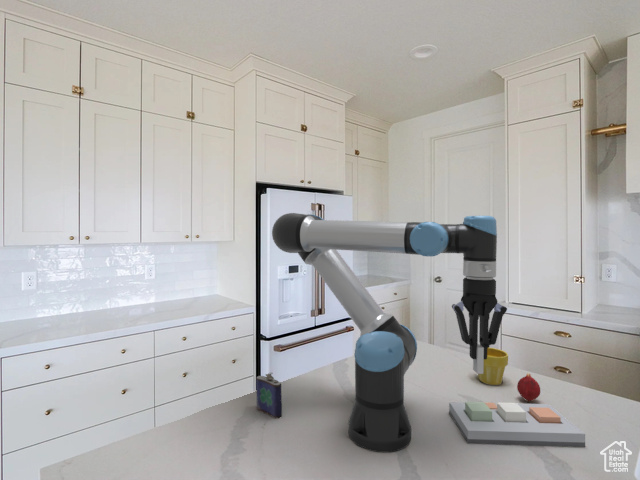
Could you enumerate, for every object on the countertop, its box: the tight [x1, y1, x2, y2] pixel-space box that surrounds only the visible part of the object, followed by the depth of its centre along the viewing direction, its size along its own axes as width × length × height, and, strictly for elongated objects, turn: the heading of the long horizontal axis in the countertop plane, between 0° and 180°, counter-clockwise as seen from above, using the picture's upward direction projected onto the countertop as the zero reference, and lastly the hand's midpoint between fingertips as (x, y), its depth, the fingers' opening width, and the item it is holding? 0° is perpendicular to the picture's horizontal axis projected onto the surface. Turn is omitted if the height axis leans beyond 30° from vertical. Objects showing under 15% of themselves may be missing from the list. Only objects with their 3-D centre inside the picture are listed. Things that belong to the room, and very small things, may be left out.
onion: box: [516, 372, 541, 402], centre depth 101 cm, size 6×6×8 cm
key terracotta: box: [529, 407, 561, 424], centre depth 86 cm, size 5×5×3 cm
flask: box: [255, 372, 283, 419], centre depth 96 cm, size 9×3×11 cm, turn 50°
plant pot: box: [477, 347, 509, 386], centre depth 115 cm, size 10×10×10 cm
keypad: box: [448, 401, 586, 448], centre depth 87 cm, size 26×14×3 cm, turn 87°
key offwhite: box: [496, 402, 526, 423], centre depth 87 cm, size 5×5×3 cm
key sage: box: [464, 401, 492, 422], centre depth 87 cm, size 5×5×3 cm
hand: (478, 371), depth 88 cm, fingers closed
